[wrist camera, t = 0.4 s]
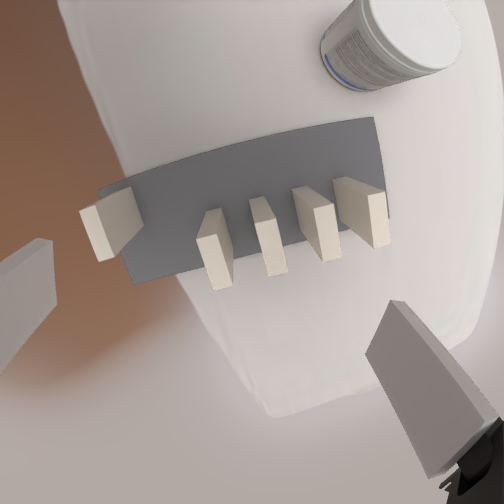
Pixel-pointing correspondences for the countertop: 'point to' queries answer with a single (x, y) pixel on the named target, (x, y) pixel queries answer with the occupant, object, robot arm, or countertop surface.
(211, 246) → the domino
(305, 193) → the domino
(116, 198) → the domino
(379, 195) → the domino
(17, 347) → the robot arm
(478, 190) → the countertop surface
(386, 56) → the supplement tub
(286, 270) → the domino
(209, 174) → the mat
